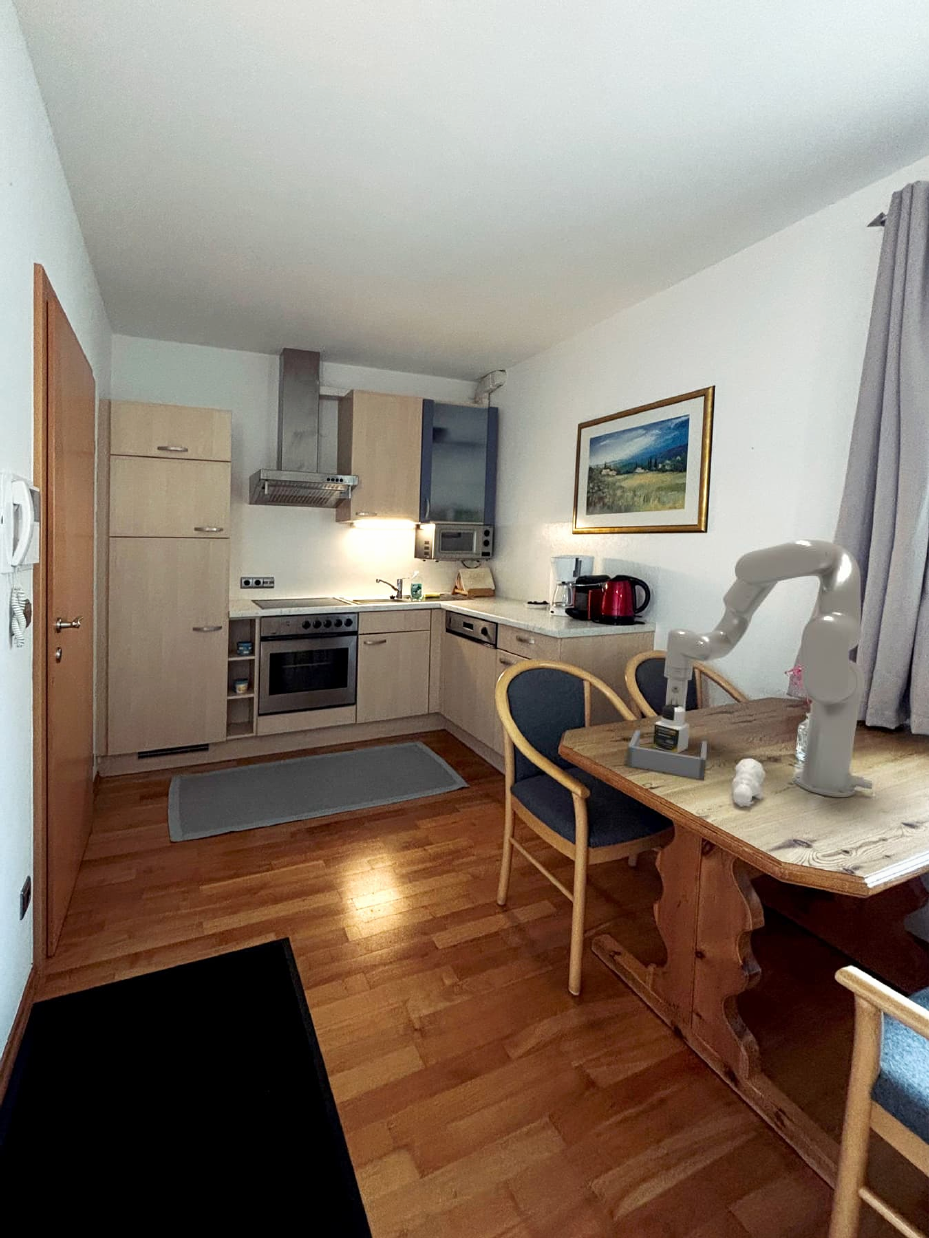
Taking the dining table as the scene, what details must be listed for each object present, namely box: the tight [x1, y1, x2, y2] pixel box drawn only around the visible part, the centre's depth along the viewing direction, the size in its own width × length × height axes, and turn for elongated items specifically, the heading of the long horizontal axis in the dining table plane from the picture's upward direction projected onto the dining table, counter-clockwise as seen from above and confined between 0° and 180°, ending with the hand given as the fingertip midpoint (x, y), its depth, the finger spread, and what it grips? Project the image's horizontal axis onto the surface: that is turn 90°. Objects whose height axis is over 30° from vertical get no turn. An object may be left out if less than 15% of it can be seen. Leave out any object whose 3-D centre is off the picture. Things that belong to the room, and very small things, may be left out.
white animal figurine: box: [730, 758, 766, 808], centre depth 135 cm, size 6×8×12 cm
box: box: [626, 729, 708, 781], centre depth 157 cm, size 18×15×5 cm
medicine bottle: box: [652, 704, 691, 754], centre depth 167 cm, size 7×7×12 cm
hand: (671, 733), depth 175 cm, fingers closed
